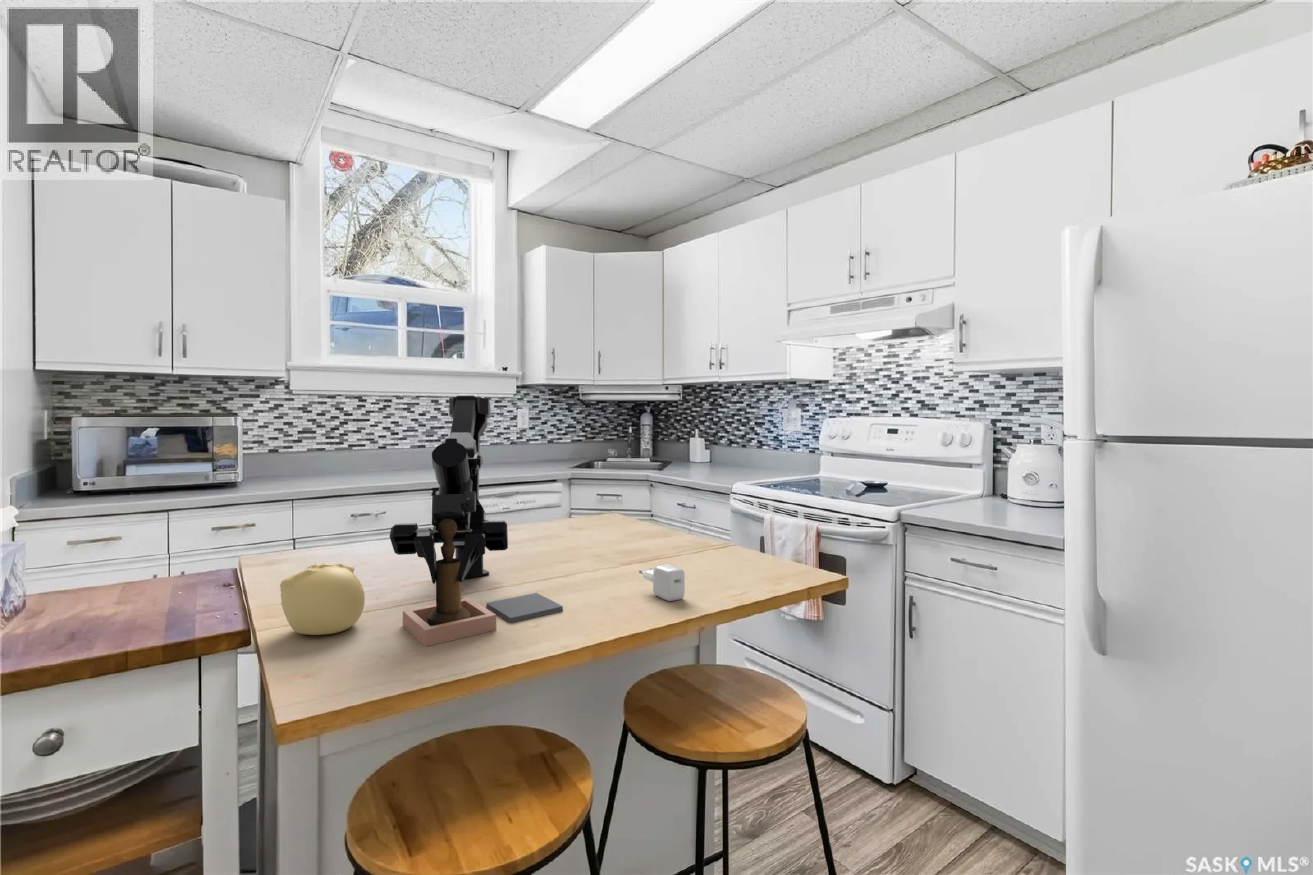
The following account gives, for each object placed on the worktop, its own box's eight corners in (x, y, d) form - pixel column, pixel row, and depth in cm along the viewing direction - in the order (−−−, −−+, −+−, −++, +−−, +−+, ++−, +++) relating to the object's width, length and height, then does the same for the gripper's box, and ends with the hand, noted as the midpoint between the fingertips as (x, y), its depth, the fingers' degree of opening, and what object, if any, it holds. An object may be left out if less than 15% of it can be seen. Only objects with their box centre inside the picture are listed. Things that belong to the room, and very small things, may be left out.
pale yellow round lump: (344, 612, 111) (342, 552, 111) (377, 628, 104) (376, 563, 103) (272, 630, 102) (270, 565, 102) (303, 649, 95) (301, 578, 94)
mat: (486, 607, 114) (486, 603, 114) (536, 596, 120) (536, 592, 120) (510, 622, 106) (510, 618, 106) (562, 610, 112) (562, 606, 112)
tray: (402, 625, 105) (402, 610, 105) (469, 611, 112) (469, 597, 112) (425, 646, 96) (425, 630, 96) (496, 629, 103) (496, 614, 103)
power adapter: (635, 588, 126) (635, 559, 125) (655, 584, 128) (655, 556, 128) (666, 603, 116) (666, 572, 116) (688, 599, 119) (688, 568, 119)
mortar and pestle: (469, 619, 108) (468, 514, 107) (470, 632, 102) (469, 521, 101) (428, 623, 106) (426, 516, 105) (426, 637, 100) (424, 524, 99)
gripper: (390, 476, 105) (376, 558, 94) (506, 473, 108) (504, 552, 98) (401, 514, 113) (389, 594, 103) (508, 511, 116) (507, 587, 106)
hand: (447, 581), depth 102 cm, fingers closed on mortar and pestle, 4 cm apart
